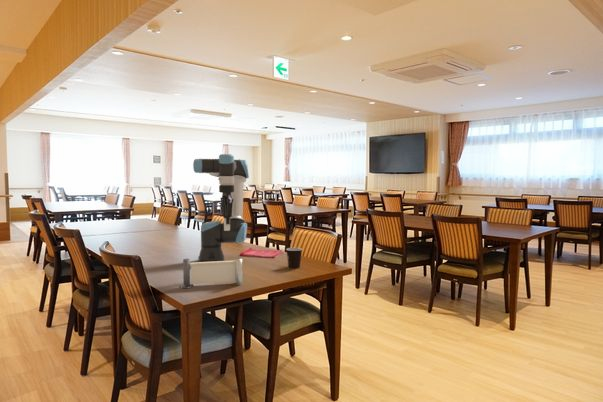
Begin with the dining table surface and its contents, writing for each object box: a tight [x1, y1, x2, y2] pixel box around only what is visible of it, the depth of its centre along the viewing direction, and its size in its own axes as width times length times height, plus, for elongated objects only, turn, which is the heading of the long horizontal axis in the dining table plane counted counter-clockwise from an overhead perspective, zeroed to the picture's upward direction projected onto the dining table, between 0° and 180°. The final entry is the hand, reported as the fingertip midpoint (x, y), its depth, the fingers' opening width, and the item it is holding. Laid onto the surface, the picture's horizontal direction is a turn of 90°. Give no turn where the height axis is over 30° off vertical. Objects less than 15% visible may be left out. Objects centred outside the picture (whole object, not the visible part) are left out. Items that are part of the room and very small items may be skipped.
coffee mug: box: [286, 247, 303, 269], centre depth 221 cm, size 12×9×10 cm
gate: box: [182, 258, 237, 286], centre depth 184 cm, size 25×3×12 cm, turn 104°
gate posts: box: [179, 258, 243, 289], centre depth 183 cm, size 28×7×12 cm, turn 105°
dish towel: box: [239, 247, 283, 259], centre depth 253 cm, size 17×24×3 cm
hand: (227, 230), depth 204 cm, fingers closed
